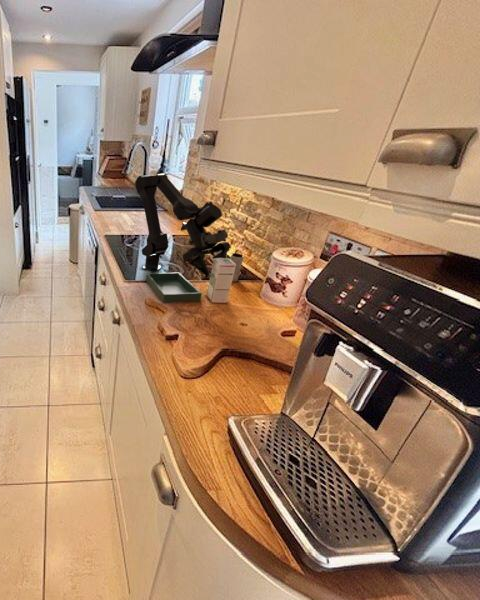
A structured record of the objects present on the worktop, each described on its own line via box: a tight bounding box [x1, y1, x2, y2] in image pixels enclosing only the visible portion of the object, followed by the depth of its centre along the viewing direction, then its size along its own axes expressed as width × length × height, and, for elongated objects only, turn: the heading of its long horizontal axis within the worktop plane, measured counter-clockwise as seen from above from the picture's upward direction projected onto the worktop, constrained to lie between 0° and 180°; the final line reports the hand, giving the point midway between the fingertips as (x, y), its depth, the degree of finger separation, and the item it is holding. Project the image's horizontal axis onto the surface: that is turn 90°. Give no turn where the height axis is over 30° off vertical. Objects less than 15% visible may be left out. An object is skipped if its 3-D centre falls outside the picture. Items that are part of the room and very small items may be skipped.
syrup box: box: [206, 257, 236, 304], centre depth 112 cm, size 6×6×14 cm
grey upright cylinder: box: [229, 253, 245, 282], centre depth 130 cm, size 4×4×10 cm
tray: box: [145, 271, 202, 303], centre depth 121 cm, size 20×14×3 cm
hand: (217, 273), depth 113 cm, fingers open, 9 cm apart
